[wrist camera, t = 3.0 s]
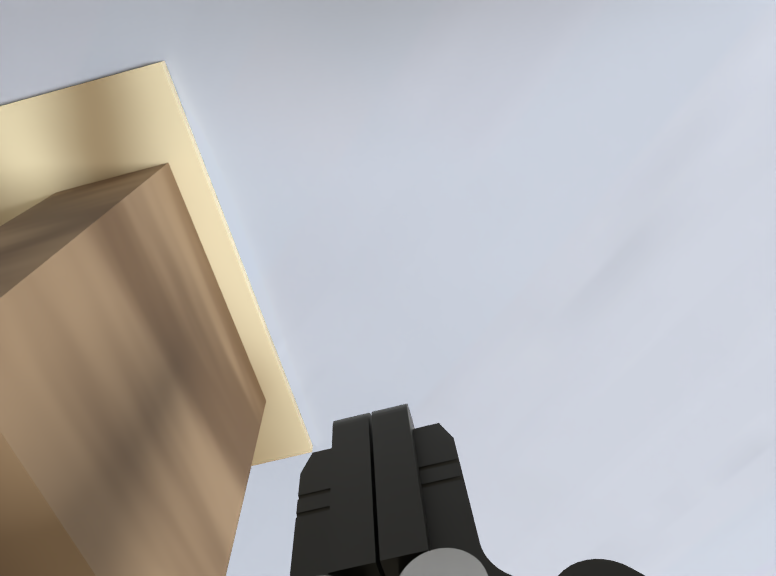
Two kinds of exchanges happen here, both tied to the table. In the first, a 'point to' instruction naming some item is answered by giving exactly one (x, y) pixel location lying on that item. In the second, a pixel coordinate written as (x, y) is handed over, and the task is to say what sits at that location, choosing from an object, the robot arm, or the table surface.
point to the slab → (119, 388)
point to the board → (133, 153)
